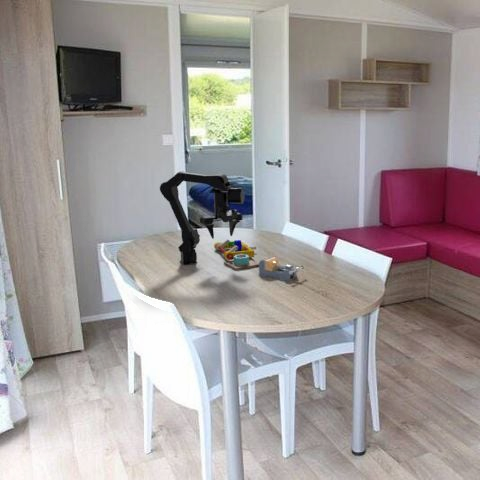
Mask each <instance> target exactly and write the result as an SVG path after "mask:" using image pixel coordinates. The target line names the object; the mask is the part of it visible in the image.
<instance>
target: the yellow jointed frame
mask: <svg viewBox="0 0 480 480" xmlns="http://www.w3.org/2000/svg"><path fill="white" fill-rule="evenodd" d="M213 247H214V249H215V251H220V252H222V253H223V257H224V258H225V259H226V260H227V261H233V260H234V256H235V255H239V254H244V255H248V256H249V258H255V250H257V246H248V244H245V243H244V242H242V241H241V240H240V239H238V240H235V239H234V240H232V241H230V240H229V239H227V238H226V239H225V240H224V241H223V242H219V241H218V242H215V243H214V245H213ZM226 249H227V250H226ZM228 249H229V250H228Z"/></svg>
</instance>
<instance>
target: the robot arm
mask: <svg viewBox="0 0 480 480" xmlns="http://www.w3.org/2000/svg"><path fill="white" fill-rule="evenodd" d="M184 182H188V183H196V184H201V185H202V184H203V185H207V186H209V187H211V190H210V191H208V193H209V194H213V197H214V199H213V200H214V201H213V202H214V204H213V208H214V213H213V216H214V217H213V216H209V215H204V216H200V218H199V223H200V224H202V225H204V226H205V227H206V229H207V230H208V233H209V236H210V237H211V239H213V240H214V238H215V236H214V233H215V232H214V227H215V226H214V225H215V224H213V223H214V222H218V221H219V222H221V221H222V223H228V224H229V225H228V227H229V235H230V237H232V236H233V234H234V231H235V228H236V225H237V224H238V223H240V222H241V221H243V219H244V218H243V217H244V216H243V214H242V213H240V212H238V210H237V209H231V210H230V205H228V203H229V204H244V201H245V195H246V194H245V192H244V190H243V187H233V185H232V184H231V183H230V181H229V177H228V176H227V175H226V174H224V173H215V174H201V173H195V172H187V171H184V170H182V171H179V172H176V174H175V175H173V176H172V177H171V178H169V179H168V180H167V181H164V182H162V183H161V184H160V186H159V191H160V193H161V195H162V196H163V198H164V199H165V200H166V201H167V202H168V203H169V205H170V208H171V210H172V212H173V215H174V216H175V219H176V222H177V223H178V227H179V228H180V231H181V240H182V242H181V244H180V245H179V246H178V247H177V248H178V251H179V252H180V260H179V263H181V264H182V265H184V266H185V265H187V266H189V265H192V264H197V263H198V261H197V259H198V258H197V256H198V255H197V252H196V248H197V245H199V243H200V242H201V241H200V240H201V239H200V237H201V235H200V234H199V231H198V228H193V227H192V226H191V224H190V221H189V219H188V216H187V215H186V213H185V210H184V207H183V205H182V202H181V200H180V198H179V195H180V194H179V189H178V187H179V186H180V185H181V184H182V183H184Z"/></svg>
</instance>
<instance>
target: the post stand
mask: <svg viewBox="0 0 480 480" xmlns="http://www.w3.org/2000/svg"><path fill="white" fill-rule="evenodd" d="M243 257H244V254H239V258H243ZM223 265H224V266H227V267H229V268H231V269H233V270H234V271H240V270H246V269H247V270H248V269H251V268H253V269H254V268H259V263H258V262H257V261H254V260H252V259H250V258H249V263H248V264H247V265H236V264H234V259H232V260H227V261H223Z"/></svg>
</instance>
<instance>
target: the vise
mask: <svg viewBox="0 0 480 480" xmlns="http://www.w3.org/2000/svg"><path fill="white" fill-rule="evenodd" d="M258 264H259V267H258V276H259V277H270V278H275V279H279V281H281V282H287V281H290V280H291V278H296V277H297V276H298V273H299V272H300V270H301V269H302V270H304V269H305V268H306V267H305V265H300V267H296V266H294V265H290V264H287V265H285V264H281V262H280V261H279V259H278V258H277V257H274V256H270V257H267V258H264V259H261V260H259V263H258Z"/></svg>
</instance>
